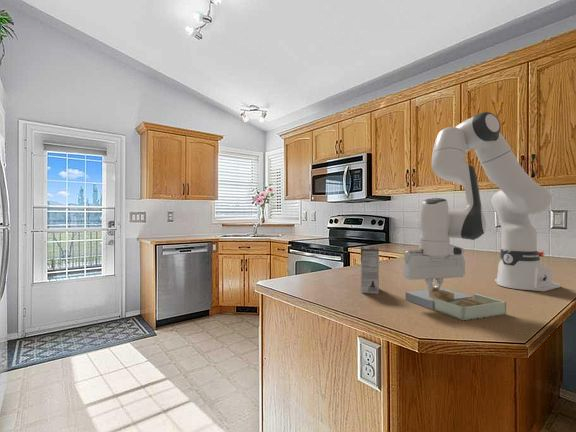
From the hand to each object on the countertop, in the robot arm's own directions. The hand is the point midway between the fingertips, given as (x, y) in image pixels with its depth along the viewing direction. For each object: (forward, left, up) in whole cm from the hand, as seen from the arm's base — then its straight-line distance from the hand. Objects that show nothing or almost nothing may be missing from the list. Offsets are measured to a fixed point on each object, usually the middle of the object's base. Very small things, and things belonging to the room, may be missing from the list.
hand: (434, 292), depth 103 cm
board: (-3, -1, -4) cm, 5 cm away
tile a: (-6, +9, -3) cm, 11 cm away
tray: (-3, +10, -4) cm, 11 cm away
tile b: (0, +3, -1) cm, 4 cm away
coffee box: (+9, -22, -4) cm, 24 cm away
